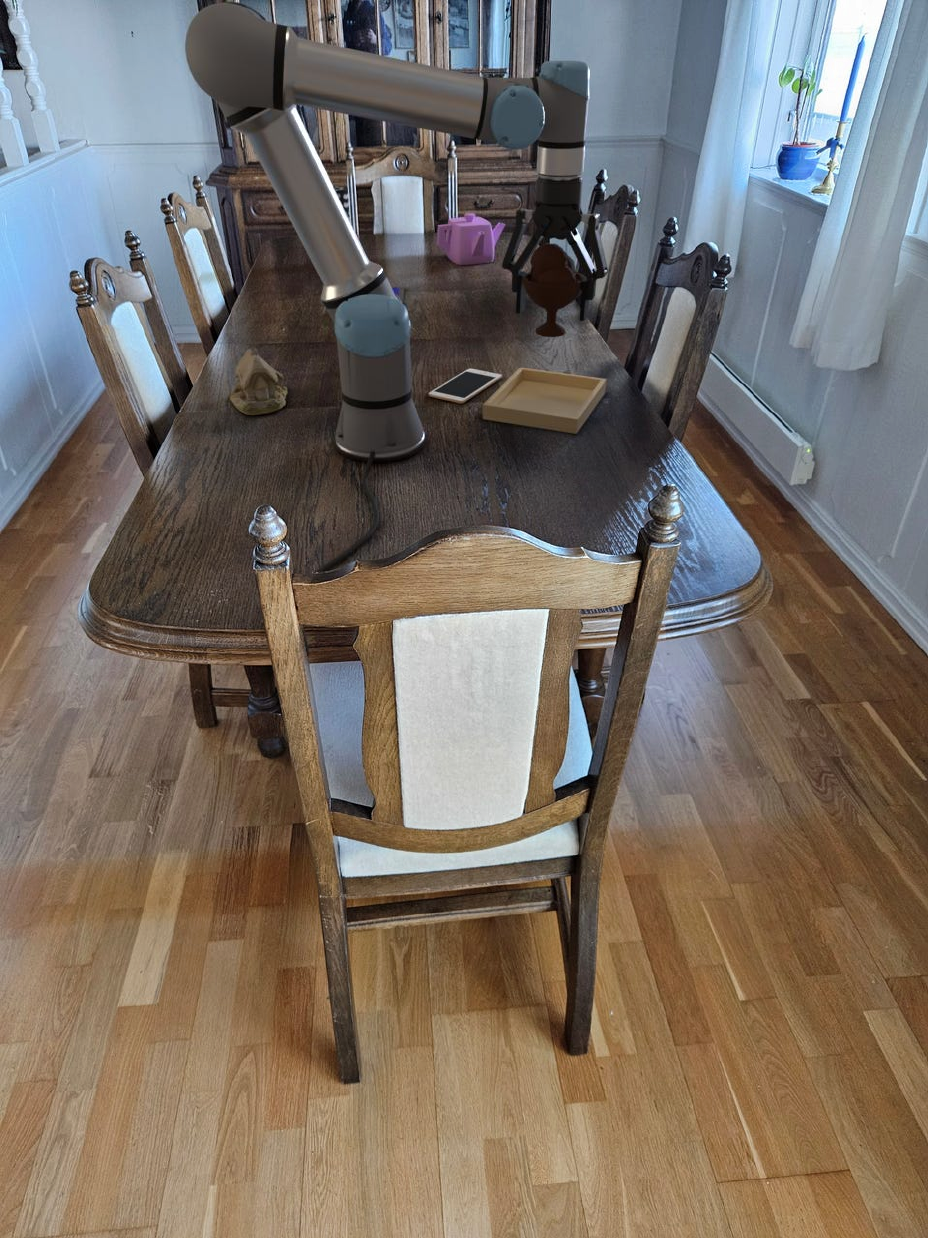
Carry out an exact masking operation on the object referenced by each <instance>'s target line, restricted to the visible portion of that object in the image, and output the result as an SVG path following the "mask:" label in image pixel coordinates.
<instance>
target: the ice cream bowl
mask: <svg viewBox="0 0 928 1238" xmlns="http://www.w3.org/2000/svg"><path fill="white" fill-rule="evenodd" d="M530 265H531V267H530V271H528V272H526V274H524V275H522V280H523V285H524V288H525V291H526V292H525V294H527V296H528V298H530V301H532V302H533V303H534V304H535V305H536V306H538V307H539V308H542V309H544V310H545V312H546V318H545V319H546V320H545V322H544V323H542V324H541V325H539V326H538V327H536V328H535V331H534V332H535V333H536V335H537V336H540V337H545V338H557V337H558V338H559V337H563V336H564V335H565V334H567V332H566V331H567V330H566V329H565V327H564V326H563V325H561V324H559V323H558V322H557V314H558V311H559V310H561V309H563V308H566V307H567V306H568V305H570V304H571V303H573V302H575V300H577V298H579V297H580V296H581V294H582V281H583V280H585V279H586V276H585V275H583V273H581V272H578V271H576V264H575V260H574V259H573V258H572V257H571V256H569V255H568V253H567V252H566V251H565V250H564V248H563V247H562V246H560V245H559V244H557V243H552V242H551V243H548V242H546V243H543V244H540V246H539V245H538V246H537V247H536V249H535V250H534V252H533V253H532V255H531V256H530Z"/></svg>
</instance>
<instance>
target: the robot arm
mask: <svg viewBox="0 0 928 1238" xmlns="http://www.w3.org/2000/svg"><path fill="white" fill-rule="evenodd" d="M184 50H185V51H184V52H185V59H186V63H187V65H188V69H189V72H190V73H191V76H192V77H193V79H194V81H195V82H196V83H197V85H198V87H199V88H200V89H201V90H202V91H203V92H204V93H205V94H206V95H207V96H209V97H210V98H211V99H212V100H214V101H216V103H217V105H218V107H219V108H220V110H221V112H222V114H223V116H224V117H225V120H226V121H227V123H228V125H229V127H230V129H231V130H233V131H235V132H237V133H241V134H242V135H244V136H245V137H246V138H247V141H248V142H249V144H250V146H251V148H252V149H253V151H254V153H255V155H256V157H257V159H258V161H259V164H260V165H261V167H262V169H263V171H264V173H265V174H266V176H267V179H268V180H269V182H270V184H271V186H272V188H273V190H274V192H275V194H276V196H277V197H278V200H279V202H280V203H281V205H282V208H283V209H284V211H285V213H286V215H287V217H288V219H289V221H290V222H291V225H292V227H293V228H294V230H295V232H296V234H297V236H298V238H299V240H300V242H301V244H302V246H303V248H304V250H305V252H306V253H307V256H308V257H309V259H310V261H311V263H312V266H313V267H314V269H315V271H316V272H317V275H318V276H319V278H320V280H321V282H322V284H323V285H322V291H321V294H320V295H321V296H320V299H321V301H322V303H323V305H324V307H325V309H326V311H327V312H328V316H329V317H330V318H331V320H332V323H333V325H334V327H333V328H334V334H335V337H336V345H337V356H338V366H339V376H340V377H339V379H340V388H341V397H342V398H341V399H342V400H341V401H342V404H341V409H340V411H339V412H340V413H339V417H338V422H337V425H336V429H335V435H334V438H335V447H336V450H337V452H338V453H339V454H340V455H342V456H344V457H346V458H348V459H350V460H354V461H357V462H362V463H366V467H365V470H364V473H363V475H362V488H363V490H364V493H365V494H366V496H367V497H368V499H369V500H370V503H371V507H372V511H373V522H372V525H371V527H370V528H369V529H368V531H367V532H366V533H365V534H364V535H363V536H362V537H361V538H359V539H358V540H357V541H356V542H355V543H354V544H352V545H351V546H349V548H347V549H346V550H345V551H343V552H342V553H340V554H339V555H338V556H336V557H334V558H333V559H331V560H329V561H328V562H327V563H325V564H324V565H322V566H321V567H320V568H318V569H317V570H318V571H317V570H315V571H314V572H313V573H316V572H323V571H325V572H327V571H328V570H330V569H331V568H333V567H334V566H336V565H337V564H339V563H340V562H342V561H344V560H345V559H347V558H348V557H349V556H350V555H352V554H353V553H354V552H355V551H357V550H358V549H359V548H360V547H362V546H363V545H364V544H365V543H366V542H368V541H369V540H370V538H371V537H373V535H374V534H375V532H376V531H377V529H378V527H379V524H380V517H381V516H380V510H379V507H378V503H377V500H376V497H375V496H374V494H373V492H372V491H371V489H370V488H369V483H368V481H369V480H368V479H369V477H370V472H371V470H372V466H373V464H375V463H377V464H379V463H380V464H381V463H391V462H397V461H400V460H405V459H408V458H410V457H412V456H414V455H417V454H418V453H419V452H420V451H422V449H423V448H424V446H425V431H424V426H423V424H422V422H421V419H420V417H419V413H418V411H417V409H416V406H415V403H414V400H413V391H412V389H413V387H412V384H413V383H412V363H411V362H412V361H411V338H410V337H411V336H410V334H411V321H410V319H409V312H408V309H407V307H406V305H405V304H404V303H403V304H402V303H401V301H400V299H399V297H398V295H396V294H395V291H393V290H392V288H393V287H392V285H391V284H390V281H389V279H388V277H387V275H386V273H385V270H384V269H383V267H382V265H380V264H378V263H376V262H374V261H370V260H369V258H368V256H367V254H366V252H365V250H364V248H363V246H362V243H361V241H360V239H359V237H358V235H357V233H356V231H355V229H354V226H353V225H352V223H351V219H350V220H349V218H348V216H347V214H346V212H345V210H344V208H343V206H342V204H341V202H340V200H339V197H338V195H337V193H336V191H335V189H334V187H333V186H334V185H333V183H332V181H331V179H330V176H329V174H328V172H327V169H326V168H325V167H324V164H323V162H322V159H321V158H320V155H319V154H318V152H317V150H316V147H315V145H314V143H313V140H312V139H311V136H310V135H309V132H308V130H307V129H306V126H305V124H304V122H303V120H302V118H301V116H300V114H299V112H298V109H297V106H302V107H307V108H312V109H317V110H323V111H328V112H332V113H338V114H343V115H349V116H354V117H360V118H364V119H370V120H375V121H378V122H379V121H380V122H385V123H389V124H390V123H391V124H394V125H401V126H405V127H406V126H407V127H412V128H417V129H422V130H427V131H432V132H437V133H443V134H449V135H453V136H459V137H463V138H468V139H473V140H474V139H475V140H476V141H477V140H478V141H483V142H487V143H492V144H498V145H500V146H502V147H503V148H505V149H509V150H523V149H526V148H528V147H530V146H531V145H533V144H534V143H535V142H536V141H537V157H536V173H537V175H539V176H538V177H537V178H536V179H535V197H534V198H535V199H534V200H535V201H534V202H535V204H534V208H533V209H527V208H526V207H521V208H520V209H518V210H516V212H515V226H514V228H513V231H512V234H511V237H510V240H509V242H508V245H507V248H506V251H505V254H504V257H503V260H502V262H501V268H502V269H503V270H508V271H509V272H510V273H511V292H512V293H516V300H515V301H516V302H515V303H516V304H515V314H522V312H524V311H525V310H526V291H525V288H524V285H523V280H522V275H524V274H526V273H527V271H524V270H523V269H524V267H525V265H526V264H527V262H528V261H529V259H531V256H532V255H533V253H534V251H535V250H536V249H537V248H538V247H539V244H540V243H541V241H542V240H543V239H544V238H545V239H547V240H551V239H556V240H561V241H564V240H566V242H567V244H568V245H569V246H570V247H571V249H572V252H573V253H574V255H575V256H574V257H576V260H577V261H578V264H579V266H580V268H581V270H582V272H583V274H584V277H585V278H586V279H585V280H583V281H582V292H581V294H580V296H581V298H580V309H579V321H580V322H581V321H582V322H584V321H585V320H587V318H588V317H589V306H590V301H593V300H594V299H595V297H596V291H597V290H596V289H597V281H598V280H599V279H604V278H605V277H606V276H607V275H608V274H609V267H608V262H607V259H606V258H607V257H606V255H605V251H604V246H603V245H604V244H603V240H602V237H601V233H600V229H599V226H600V214H599V213H598V212H593V213H584V212H583V210H582V197H583V196H582V195H583V181H584V180H583V178H582V177H580V176H581V175H583V174H584V166H585V153H586V136H587V135H586V133H587V125H588V124H587V122H588V112H589V101H590V99H591V98H590V67H589V65H588V64H587V63H586V62H585V61H581V60H547V61H544V62H542V64H541V66H540V72H539V73H538V74H539V75H538V76H532V77H488V76H480V75H476V74H471V73H467V72H461V71H457V70H454V69H453V70H452V69H448V68H443V67H438V66H433V65H428V64H424V63H420V62H414V61H410V60H406V59H405V60H404V59H401V58H395V57H391V56H386V55H381V54H376V53H372V52H368V51H362V50H359V49H353V48H348V47H344V46H339V45H334V44H329V43H325V42H320V41H317V40H310V39H305V38H301V37H299V36H297V34H296V32H294V29H293V28H292V27H291V26H289V25H284V24H279V23H275V22H272V21H268V20H267V18H266V17H265V16H264V15H262V14H261V13H260V12H259V11H258V10H256V9H254V7H252V6H250V5H247V4H246V3H242V2H238V1H224V2H217V3H213V4H210V5H207V6H205V7H203V8H202V9H201V10H200V11H198V12H197V13H196V15H195V16H193V18H192V20H191V21H190V23H189V26H188V28H187V32H186V34H185V43H184ZM531 219H532V220H533V222H534V223H535V225H536V227H537V228H536V230H535V232H534V233H533V234H532V237H531V239H530V240H529V242H527V244H526V246H525V247H524V249H523V251H522V252H521V253H520V255H519V256H518V258H517V260H516V261H515V259H516V255H517V252H518V250H519V247H520V245H521V242H522V240H523V236H524V233H525V230H526V226H527V224H528V223H529V222H531ZM581 222H583V225H584V228H585V229H587V234H588V240H589V243H590V248H591V252H592V256H593V257H592V258H593V261H594V263H593V261H592V259H591V257H590V255H589V253H588V251H587V249H586V247H585V245H584V243H583V241H582V239H581V234H580V233H579V230H578V229H577V228H578V226H579V225H580V224H581ZM302 631H303V635H304V641H305V647H306V652H307V656H306V657H308V656H310V649H309V644H308V639H307V636H306V634H305V633H306V632H305V631H304V629H303V628H302Z"/></svg>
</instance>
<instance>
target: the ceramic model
mask: <svg viewBox="0 0 928 1238" xmlns="http://www.w3.org/2000/svg"><path fill="white" fill-rule="evenodd" d="M234 375H235V377H236V378H237V379H238V384H237V385H235V386H234V387H233V389H232V390H231V391H230V396H229V399H230V401H231V403H232V404H233V406H234V407H235V408H236V409H237V410H238V411H239V412H241V413H243V414H245V415H250V416H257V415H263V414H264V415H265V414H270V413H274V412H277V411H279V410H281V409H282V408H283V407H285V406H286V403H287V402H286V397H287V395H288V387H286V385H283V381H284V376H283V374H282V373H281V372H279V371H277V370H276V369H275V368H273V367H272V366H271V365H270V364H269V363H268V362H266V360H265V359H263V358H262V357H261V355H259V354H258V350H257V348H255V347H251V348H249V349H246V351H245V353H244V355H243V356H242V358H240V360H239V361H238V363H237V365H236V368H235V370H234ZM282 380H283V381H282Z"/></svg>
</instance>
